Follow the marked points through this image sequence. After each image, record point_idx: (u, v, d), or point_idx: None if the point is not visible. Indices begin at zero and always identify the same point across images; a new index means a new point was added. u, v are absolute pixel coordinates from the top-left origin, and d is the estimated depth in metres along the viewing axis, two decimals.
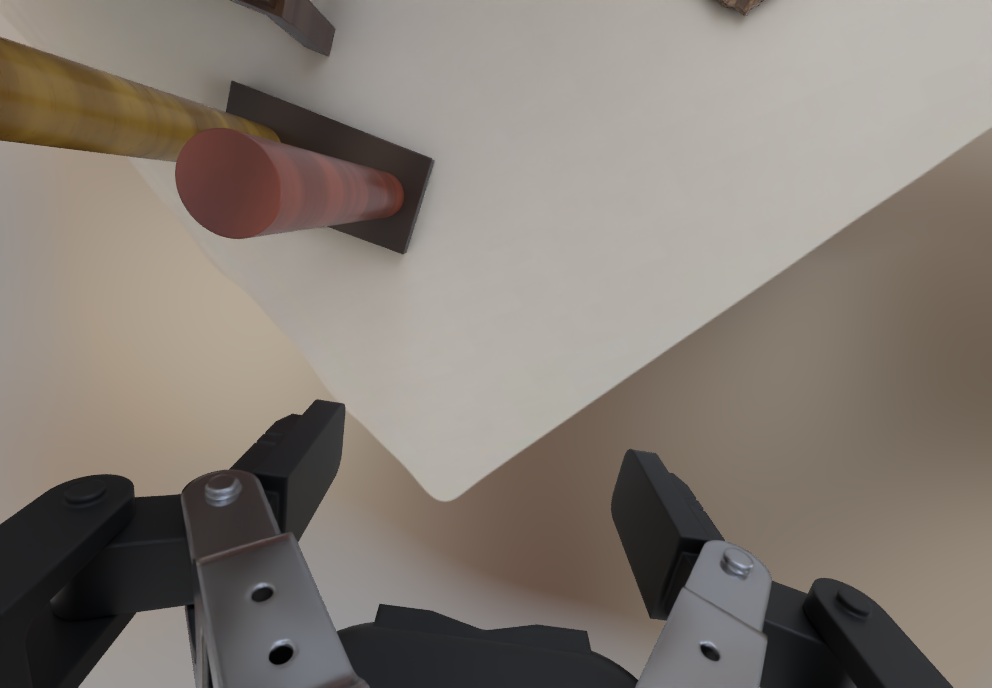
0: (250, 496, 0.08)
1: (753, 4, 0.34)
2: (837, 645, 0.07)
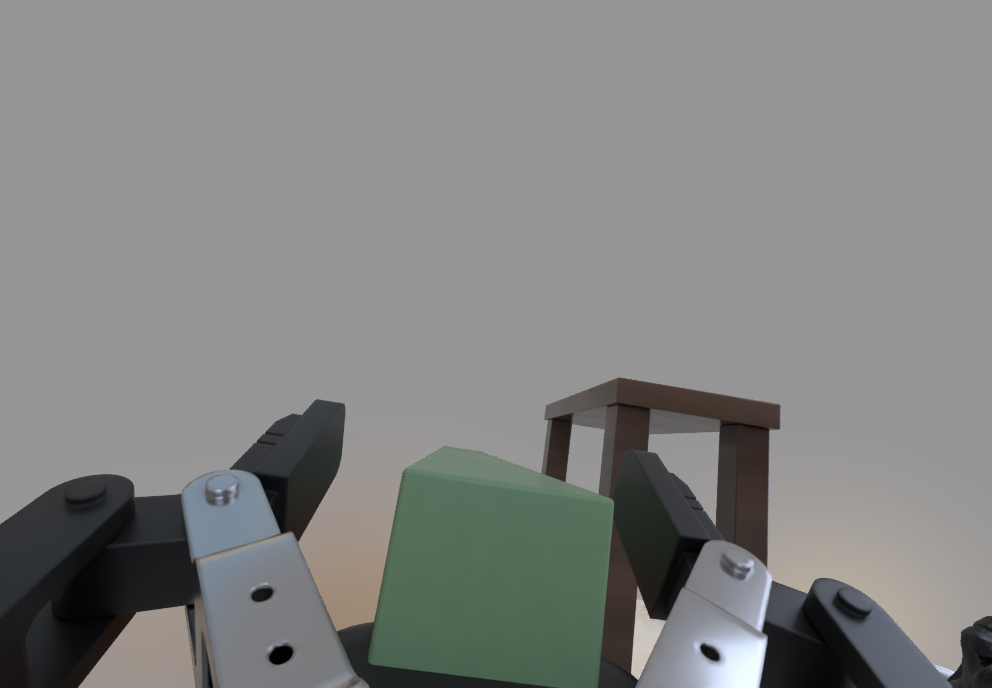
0: (250, 496, 0.08)
1: None
2: (837, 645, 0.07)
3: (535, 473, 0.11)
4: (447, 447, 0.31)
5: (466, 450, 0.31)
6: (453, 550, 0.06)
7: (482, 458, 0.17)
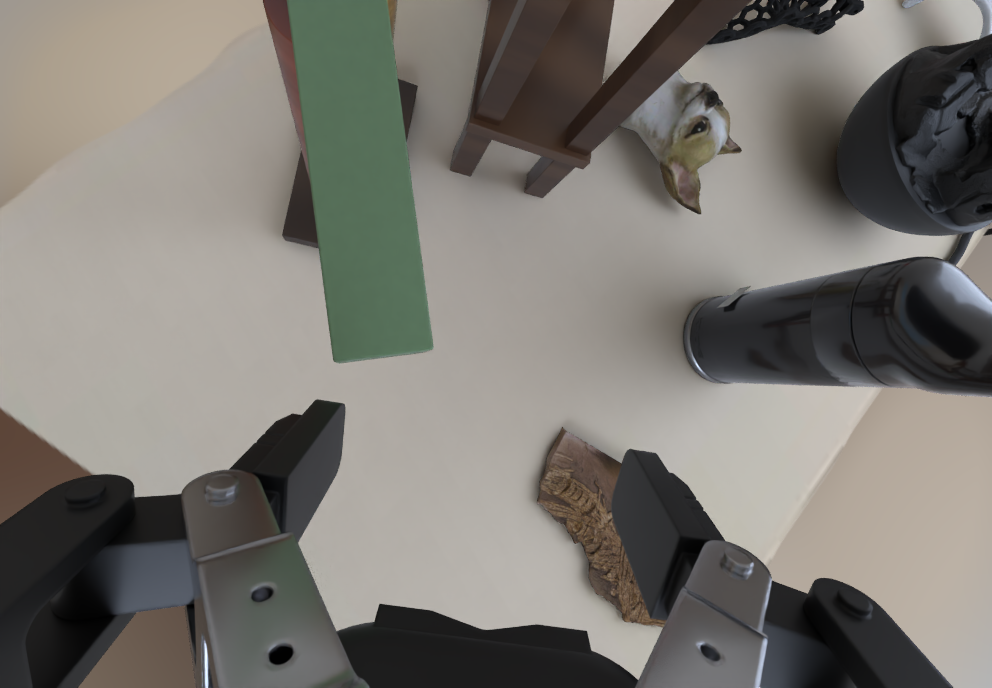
0: (250, 496, 0.08)
1: (544, 505, 0.42)
2: (837, 645, 0.07)
3: (404, 203, 0.14)
4: None
5: None
6: (363, 359, 0.15)
7: (349, 6, 0.14)
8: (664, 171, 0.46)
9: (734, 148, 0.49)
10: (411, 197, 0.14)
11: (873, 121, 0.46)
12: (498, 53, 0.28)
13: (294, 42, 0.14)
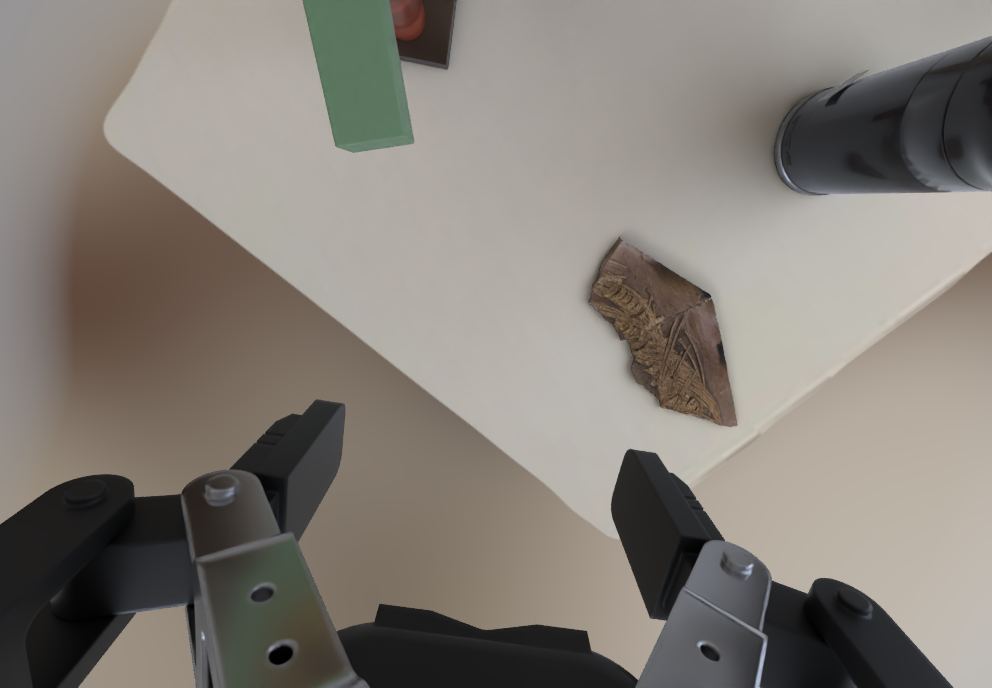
0: (250, 496, 0.08)
1: (595, 305, 0.48)
2: (837, 645, 0.07)
3: (373, 8, 0.18)
4: None
5: None
6: (361, 146, 0.20)
7: None
8: None
9: None
10: (378, 2, 0.18)
11: None
12: None
13: None
